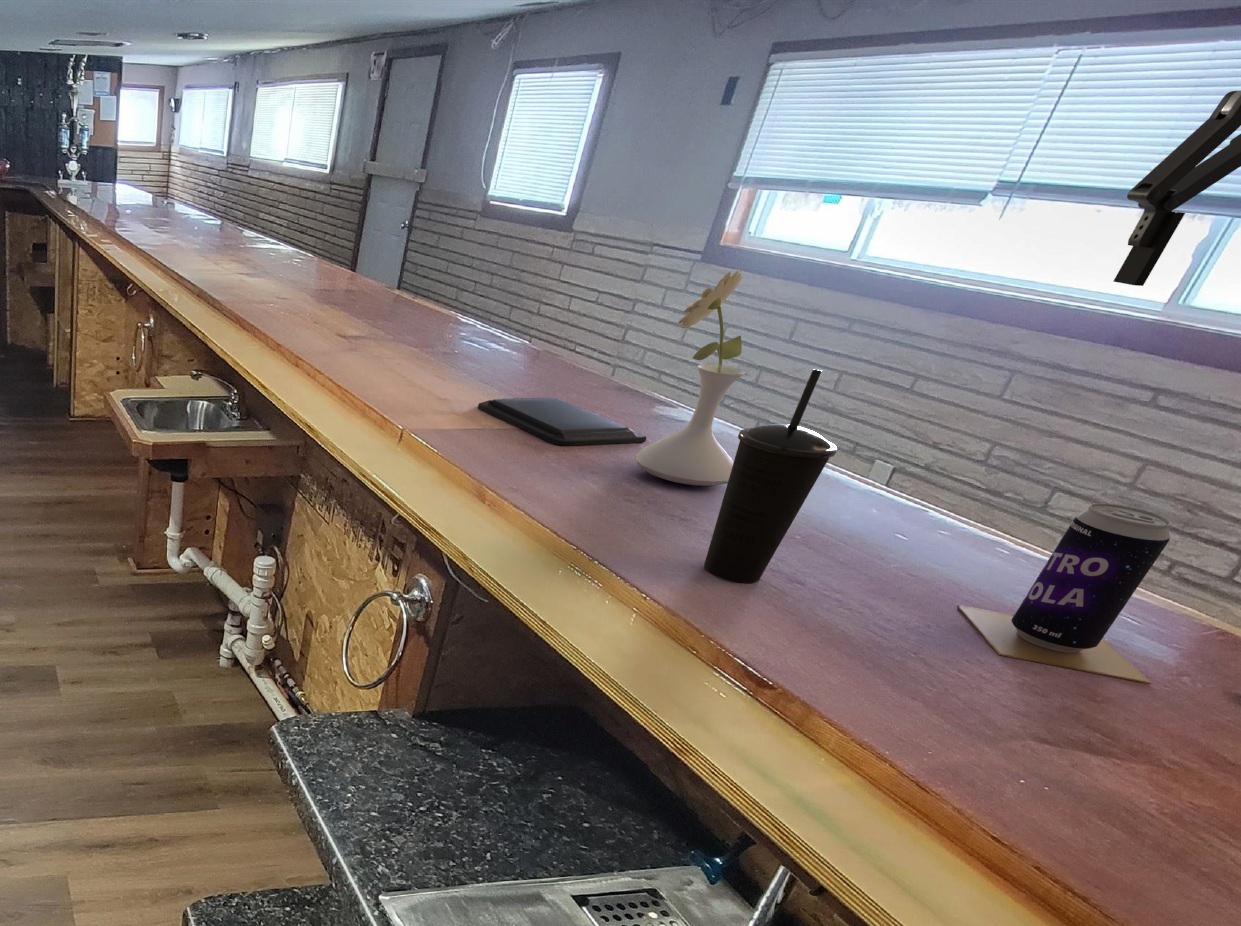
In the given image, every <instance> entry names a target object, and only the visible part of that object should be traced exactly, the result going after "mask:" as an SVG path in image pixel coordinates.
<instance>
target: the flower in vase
mask: <svg viewBox="0 0 1241 926" xmlns="http://www.w3.org/2000/svg"><path fill="white" fill-rule="evenodd" d="M742 279H743V273H742V272H741V270H740V269H738V270H736V271H735V272H734V273H733V274H732V272H731V271H728V272H727V273H726V274H725V275H723V277H722V278H721V279H720V280H719V281H718V282H717V284H716V286H715V287H714V289H713V288H712V287H707V288H706V289H704V290H703V291H702V292H701V294H700V296H701V297H700V298H701V299H698V300H695V302H693V304H692V305H689V306H687V307H686V308H685V309H684V310H683V314H685V316H683V317H682V318H680V320H679V321H678V322H677V324H678V325H680V324H681V329H685V328H686V329H688V328H690V327H692V326H694V325H696V324H698V323H699V322H700V321H702V320H704V319H706V318H707V317H709V316H710V315H711V314H712V313H713V312H715V310H716V311H717V316H718V321H719V322H718V323H719V342H718V341H713V342H710V343H708V344H705V345H704V346H702V347H701V348H699V349H698V350H697V351H696V352H695V353H694V355H692V359H693V360H695V361H704V360H705V359H707V358H708V357H710V356H711V355H712V354H714V353H715V352H716V351H717V355H718V363H717V364H710V363H708V364H707V363H705V364H698V365H697V366H696V368H697V370H698V373H699V377H700V388H699V395H698V399H697V403H696V406H695V409H694V412H693V414H692V416H691V418H690V420H689V422H688V423H687V425H686V426H684V428H682V429H681V430H679V431H676V432H675V433H673V434H670V435H668V436H666V437H663V438H661V439H659V440H656V441H654V442H652V443H650V444H648V445H646V446H645V447H643V448H642V449H640V450H639V451H638V452H637V454H636V455H635V456H634V457H635V461H636V464H637V466H638V467H639V468H641V470H644V471H645V472H647V473H648V474H650V475H652V476H654V477H656V478H660V479H662V480H666V481H669V482H673V483H677V484H683V485H690V486H699V487H701V486H702V487H712V486H719V485H727V484H728V480H729V477H730V473H731V470H732V466H733V463H734V460H733V458H732V457H731V456H730V455H729V453H727V451H726V450H725V449H724V448H723V447H722V445H721V444H720V443H719V441H717V439H716V437H715V436H714V434H713V422H714V419H715V416H716V414H717V411H718V408H719V407H720V404H721V402H722V400H723V398H724V396H725V395H726V394H727V392H728V391H729V389H730V388H731V387H732V385H733V384H734V383H735V382H736V381H737V380H739V379H740V378H741V377H742V376H744V375H745V374H746V372H745V371H744V370H742V369H739V368H736V367H732V366H727V365H723V360H729V359H734V358H737V357H739V356H740V355H741V354H742V351H743V350H742V349H743V347H742V335H737V336H736V337H733V338H731V339H729V340H726V341H724V334H725V333H724V329H725V328H724V318H723V312H722V307H721V305H722V304H724V303H725V301H727V299H728V298H729V297H730V296H731V295H732V294H733V293H734V291H735V290H736V289H737V287H738V286H739V285H740V284H741V281H742ZM686 314H687V315H686Z"/></svg>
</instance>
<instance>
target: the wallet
mask: <svg viewBox="0 0 1241 926" xmlns="http://www.w3.org/2000/svg"><path fill="white" fill-rule="evenodd" d="M477 408H478V410H481V411H483V412H485V413H487V414H490V415H492V416H494V417H495V418H498V419H500V420H502V421H504V422H506V423H508V424H511V425H513V426H515V427H517V428H518V429H521V430H523V431H525V432H528V433H529V434H531V435H534V436H535V437H538V438H540V439H542V440H544V441H546V442H548V443H550V444H553V445H555V446H562V445H574V446H592V445H614V444H635V443H646V441H647V439H648V438H647V436H645V435H643V434H641V433H639V432H636V431H634V429H631V428H629V427H628V426H626V425H623V424H621V423H619V422H616V421H613V420H611V419H609V418H606V417H604V416H602V415H599V414H596V413H594V412H591V411H589V410H586V409H584V408H582V407H580V406H576V405H574V404H572V403H570V402H566V401H565V400H562V399H559V398H556V397H519V398H518V397H516V398H511V397H510V398H498V399H489V400H485V401H482V402H479V403H478V404H477Z"/></svg>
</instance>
